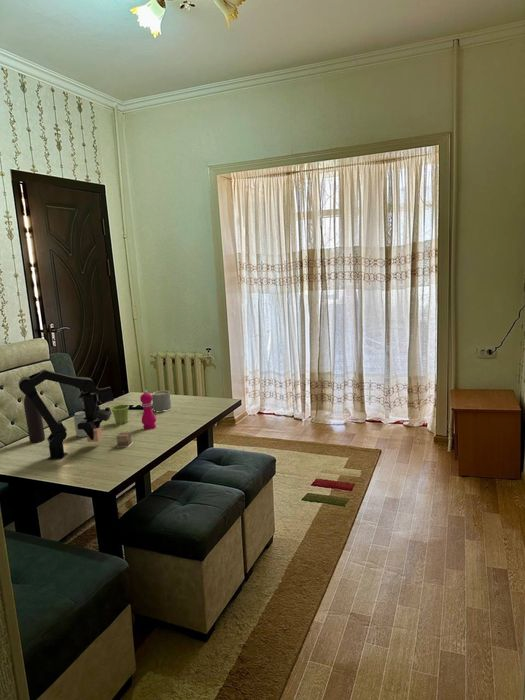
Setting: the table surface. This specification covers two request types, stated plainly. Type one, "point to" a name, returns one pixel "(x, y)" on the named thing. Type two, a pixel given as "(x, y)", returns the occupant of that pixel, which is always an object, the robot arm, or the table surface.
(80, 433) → the can
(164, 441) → the table surface
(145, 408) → the pepper mill
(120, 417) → the plant pot
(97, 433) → the terracotta block
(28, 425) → the wine bottle
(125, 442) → the walnut base block
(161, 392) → the coffee mug
